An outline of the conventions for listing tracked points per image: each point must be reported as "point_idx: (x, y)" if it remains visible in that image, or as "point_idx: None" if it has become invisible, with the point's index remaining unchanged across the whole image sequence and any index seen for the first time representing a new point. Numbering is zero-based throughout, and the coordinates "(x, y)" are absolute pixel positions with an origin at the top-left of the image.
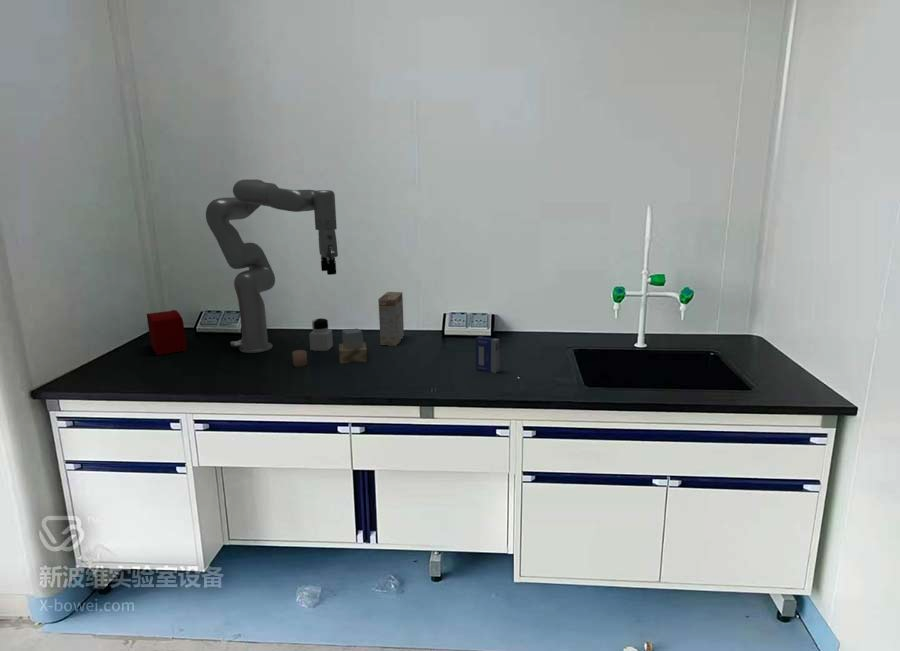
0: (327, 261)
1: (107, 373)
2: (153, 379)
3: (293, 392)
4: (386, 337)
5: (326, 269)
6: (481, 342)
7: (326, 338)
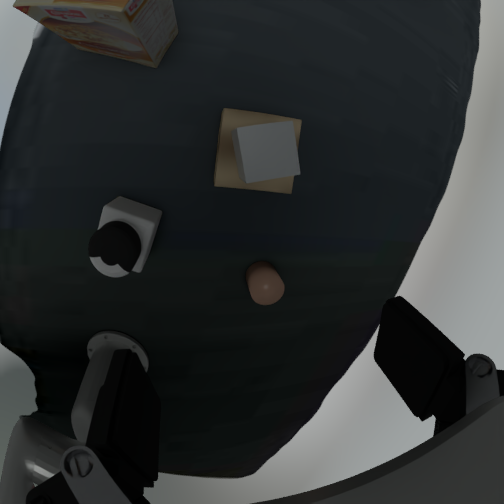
0: (444, 425)
1: (214, 462)
2: (254, 434)
3: (396, 280)
4: (163, 45)
5: (146, 383)
6: None
7: (156, 220)
